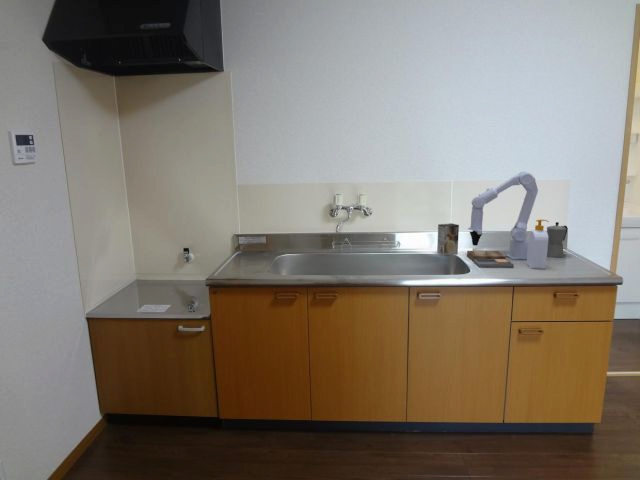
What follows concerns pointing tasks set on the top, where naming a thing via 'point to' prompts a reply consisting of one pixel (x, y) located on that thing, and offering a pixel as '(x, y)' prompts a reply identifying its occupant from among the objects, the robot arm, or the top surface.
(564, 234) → the coffeepot
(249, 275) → the top surface
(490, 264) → the box
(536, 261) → the soap bottle
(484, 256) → the walnut plate
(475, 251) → the cream tile
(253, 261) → the top surface
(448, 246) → the coffee box
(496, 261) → the terracotta tile
